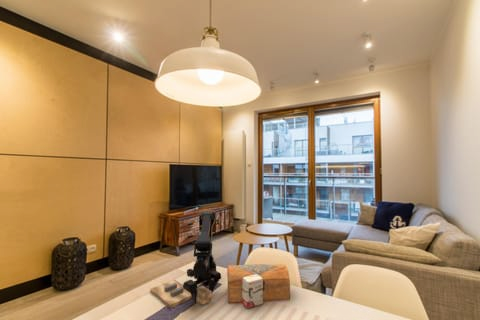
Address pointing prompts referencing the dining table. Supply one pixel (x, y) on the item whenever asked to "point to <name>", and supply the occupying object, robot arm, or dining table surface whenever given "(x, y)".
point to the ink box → (252, 290)
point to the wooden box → (273, 281)
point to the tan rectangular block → (204, 296)
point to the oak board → (166, 296)
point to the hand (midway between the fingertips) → (202, 298)
